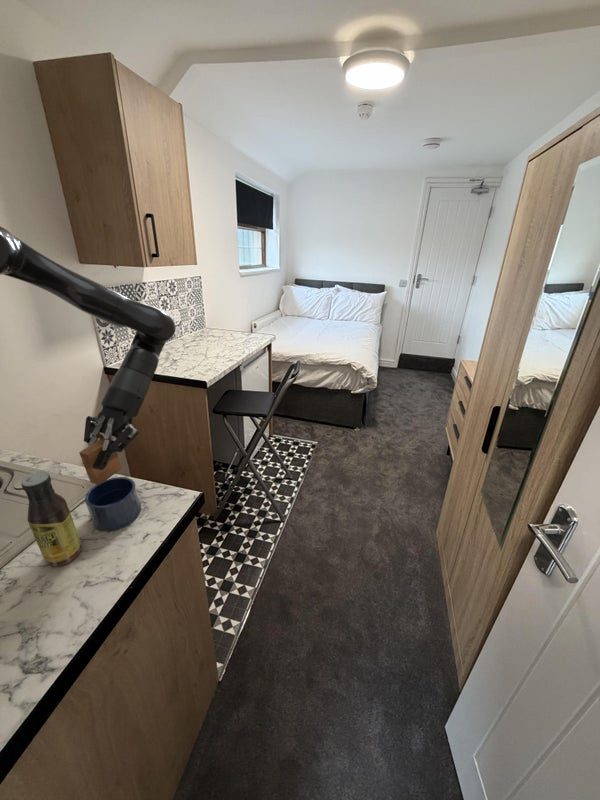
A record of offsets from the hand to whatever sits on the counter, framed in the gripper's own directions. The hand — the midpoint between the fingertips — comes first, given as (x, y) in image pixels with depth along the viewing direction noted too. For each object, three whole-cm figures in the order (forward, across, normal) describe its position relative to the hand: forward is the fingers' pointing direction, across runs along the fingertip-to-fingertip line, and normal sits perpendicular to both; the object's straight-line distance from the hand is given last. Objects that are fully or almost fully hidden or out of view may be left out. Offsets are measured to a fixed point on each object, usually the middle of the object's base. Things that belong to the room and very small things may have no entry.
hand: (92, 466), depth 68 cm
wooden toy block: (+1, 0, +4) cm, 5 cm away
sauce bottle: (+18, 0, +4) cm, 18 cm away
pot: (+9, 0, +12) cm, 15 cm away
